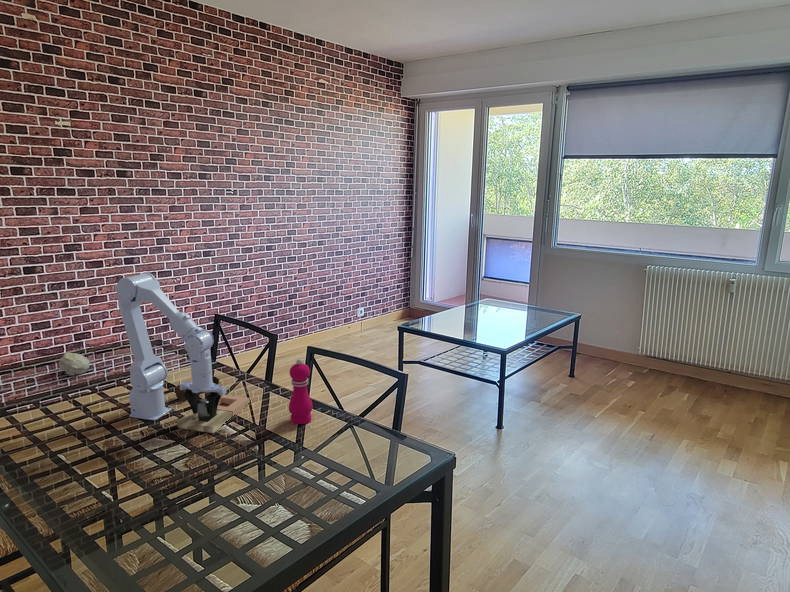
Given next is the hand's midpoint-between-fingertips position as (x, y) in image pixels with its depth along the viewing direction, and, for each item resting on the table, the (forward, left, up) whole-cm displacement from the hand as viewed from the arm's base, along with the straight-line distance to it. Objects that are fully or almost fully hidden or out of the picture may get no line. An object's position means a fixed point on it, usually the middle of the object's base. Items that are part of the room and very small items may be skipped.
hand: (204, 413), depth 155 cm
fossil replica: (-69, +20, -3) cm, 72 cm away
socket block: (0, +10, -3) cm, 11 cm away
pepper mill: (+27, +10, -3) cm, 29 cm away
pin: (0, 0, -3) cm, 3 cm away
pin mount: (0, 0, -3) cm, 3 cm away
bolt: (-15, +19, -3) cm, 24 cm away
